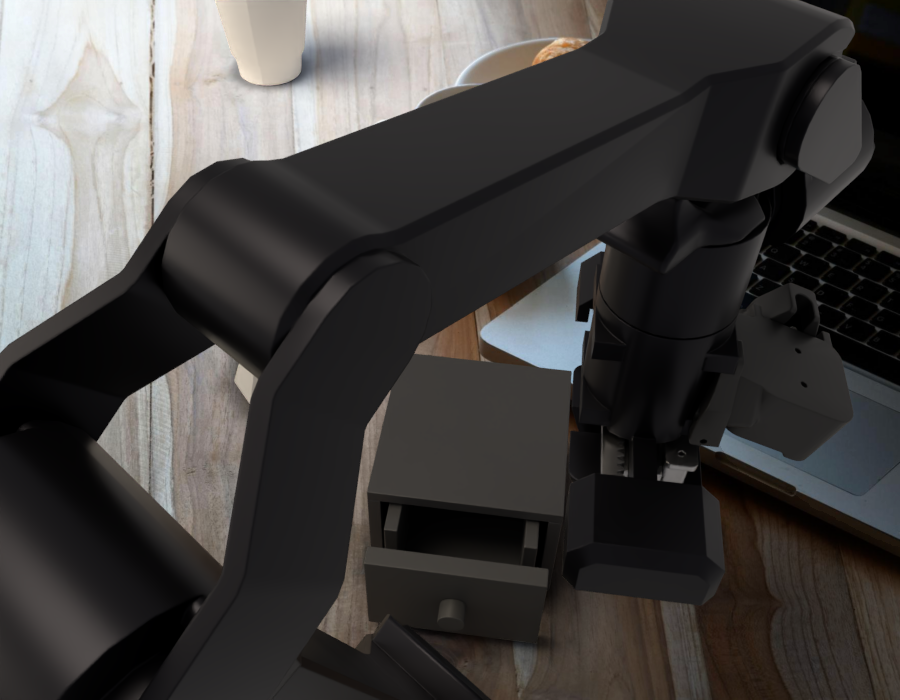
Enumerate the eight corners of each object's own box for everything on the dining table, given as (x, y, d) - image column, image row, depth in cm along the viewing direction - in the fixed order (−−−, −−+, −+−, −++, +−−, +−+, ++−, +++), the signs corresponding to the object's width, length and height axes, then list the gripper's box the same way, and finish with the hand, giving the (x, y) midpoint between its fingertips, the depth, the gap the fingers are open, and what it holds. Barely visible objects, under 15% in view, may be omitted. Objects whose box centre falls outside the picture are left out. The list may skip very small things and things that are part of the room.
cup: (332, 47, 108) (322, -95, 97) (311, 101, 100) (297, -48, 89) (232, 40, 109) (210, -103, 98) (203, 93, 101) (175, -56, 89)
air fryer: (549, 591, 60) (563, 516, 54) (372, 568, 61) (366, 492, 55) (558, 450, 68) (571, 370, 62) (401, 431, 69) (399, 351, 63)
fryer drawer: (535, 662, 56) (546, 606, 51) (364, 640, 57) (359, 582, 52) (546, 501, 64) (557, 440, 59) (397, 483, 65) (395, 421, 60)
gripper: (924, 503, 31) (790, 702, 42) (836, 174, 44) (751, 394, 55) (587, 464, 32) (543, 669, 43) (597, 152, 44) (562, 373, 56)
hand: (612, 508), depth 49 cm, fingers closed
